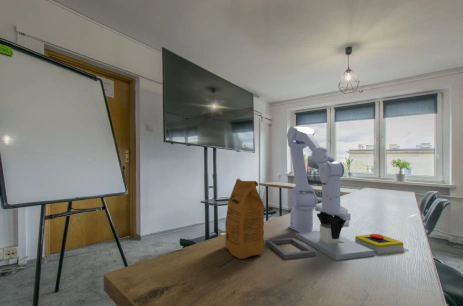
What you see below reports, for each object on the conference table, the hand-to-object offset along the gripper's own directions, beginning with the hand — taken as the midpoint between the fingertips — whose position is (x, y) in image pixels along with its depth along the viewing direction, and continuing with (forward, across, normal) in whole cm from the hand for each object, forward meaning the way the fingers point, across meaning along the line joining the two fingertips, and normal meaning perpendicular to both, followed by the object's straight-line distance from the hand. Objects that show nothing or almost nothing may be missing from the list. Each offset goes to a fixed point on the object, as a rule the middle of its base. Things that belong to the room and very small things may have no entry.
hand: (331, 236), depth 73 cm
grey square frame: (+3, 0, -16) cm, 16 cm away
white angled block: (+3, -22, +25) cm, 33 cm away
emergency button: (+4, +5, +15) cm, 16 cm away
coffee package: (+3, -2, -31) cm, 31 cm away
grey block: (+2, 0, -1) cm, 2 cm away
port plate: (+3, 0, 0) cm, 3 cm away
